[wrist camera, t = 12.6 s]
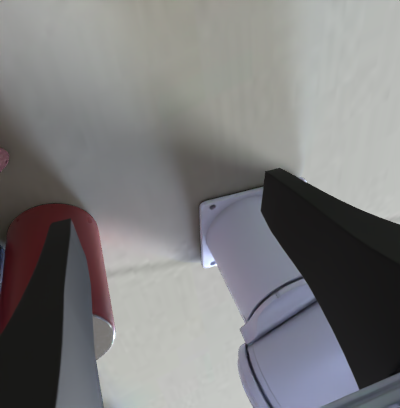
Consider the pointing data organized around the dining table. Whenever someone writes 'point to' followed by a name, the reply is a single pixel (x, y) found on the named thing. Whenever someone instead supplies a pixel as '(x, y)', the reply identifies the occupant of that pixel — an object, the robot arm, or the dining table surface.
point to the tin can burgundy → (30, 252)
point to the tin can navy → (1, 264)
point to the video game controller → (3, 158)
